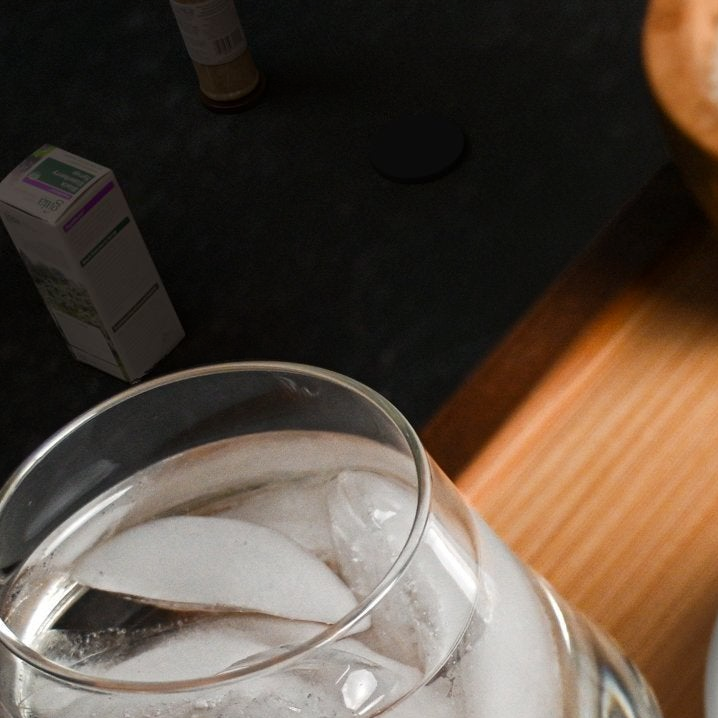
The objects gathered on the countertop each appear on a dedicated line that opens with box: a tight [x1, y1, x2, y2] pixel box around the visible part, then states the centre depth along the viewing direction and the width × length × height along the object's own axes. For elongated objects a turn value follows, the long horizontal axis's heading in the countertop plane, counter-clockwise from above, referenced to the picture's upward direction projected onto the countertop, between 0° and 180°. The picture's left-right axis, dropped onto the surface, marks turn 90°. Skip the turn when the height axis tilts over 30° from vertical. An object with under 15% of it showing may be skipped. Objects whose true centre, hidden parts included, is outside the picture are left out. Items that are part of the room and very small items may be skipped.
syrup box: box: [0, 143, 186, 386], centre depth 126 cm, size 6×6×14 cm
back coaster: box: [197, 66, 269, 115], centre depth 146 cm, size 5×5×1 cm
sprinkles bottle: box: [168, 0, 259, 101], centre depth 140 cm, size 5×5×13 cm
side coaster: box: [368, 113, 467, 185], centre depth 141 cm, size 7×7×1 cm
